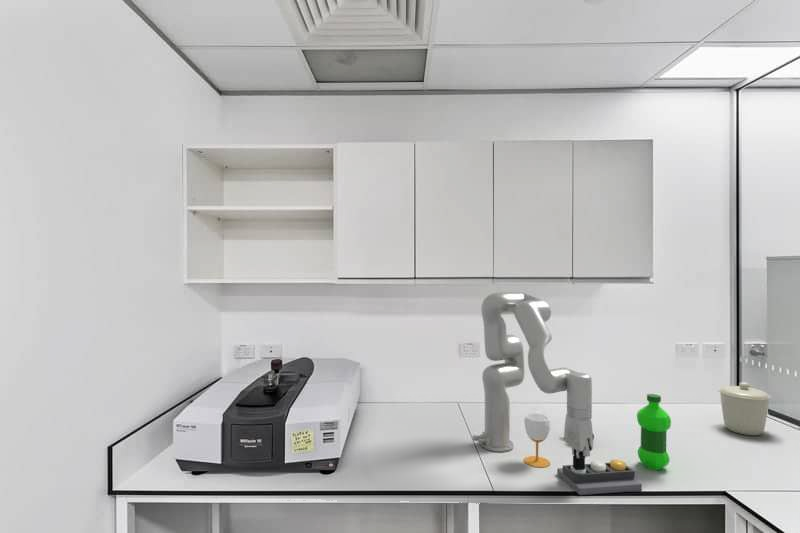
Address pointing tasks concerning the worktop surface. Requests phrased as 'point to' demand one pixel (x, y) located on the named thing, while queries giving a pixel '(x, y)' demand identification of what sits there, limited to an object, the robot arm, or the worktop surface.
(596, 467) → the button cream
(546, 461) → the cup
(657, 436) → the plastic bottle
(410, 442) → the worktop surface
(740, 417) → the canister
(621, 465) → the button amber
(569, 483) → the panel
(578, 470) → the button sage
